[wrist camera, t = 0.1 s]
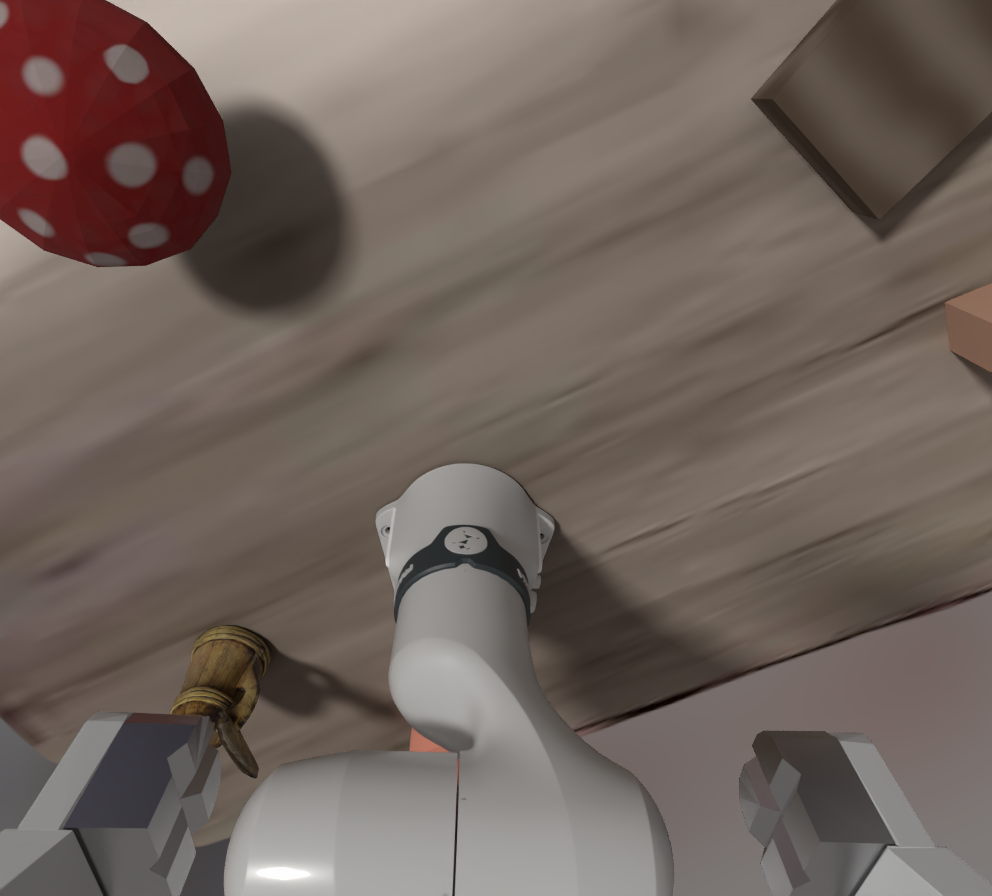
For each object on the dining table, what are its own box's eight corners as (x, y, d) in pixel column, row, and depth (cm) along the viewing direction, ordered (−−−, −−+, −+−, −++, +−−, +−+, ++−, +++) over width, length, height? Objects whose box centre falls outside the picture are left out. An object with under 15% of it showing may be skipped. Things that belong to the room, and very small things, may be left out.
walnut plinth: (852, 211, 52) (879, 219, 48) (750, 98, 47) (772, 99, 44) (997, 68, 47) (1039, 66, 43) (899, -72, 43) (936, -86, 39)
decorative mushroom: (159, -44, 43) (17, -106, 29) (307, 174, 49) (245, 202, 36) (1, 92, 46) (-189, 90, 33) (159, 277, 53) (54, 336, 40)
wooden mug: (318, 655, 76) (276, 801, 60) (222, 685, 78) (157, 833, 62) (279, 604, 72) (223, 747, 56) (180, 637, 74) (98, 783, 58)
